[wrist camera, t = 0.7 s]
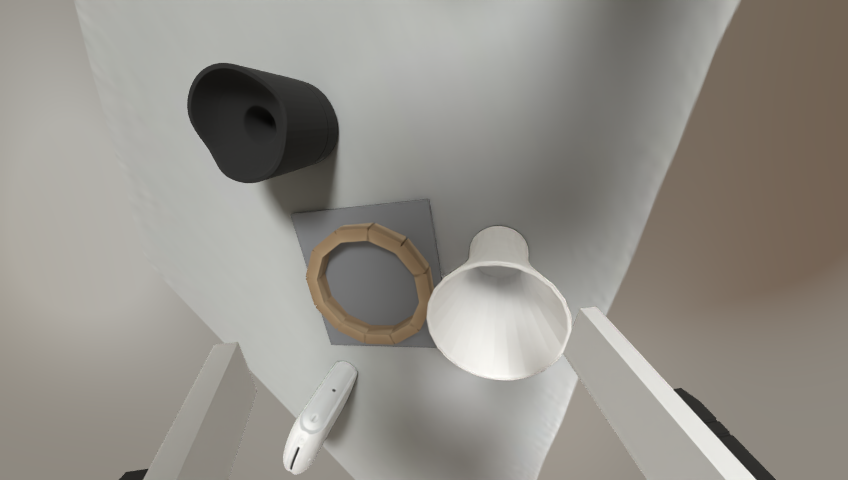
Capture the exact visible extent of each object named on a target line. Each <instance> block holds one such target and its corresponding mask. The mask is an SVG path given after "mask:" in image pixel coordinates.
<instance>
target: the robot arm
mask: <svg viewBox="0 0 848 480" xmlns="http://www.w3.org/2000/svg"><path fill="white" fill-rule="evenodd" d="M563 354H564V356H565V357H566V359H567V360H568V362H569V363H570V365H571V366H572V368H573V369H574V371H575V372H576V374H577V375H578V377H579V378H580V380H581V381H582V383H583V384H584V386H585V387H586V389H587V390H588V392H589V393H590V395H591V396H592V398H593V399H594V401H595V402H596V404H597V405H598V407H599V408H600V410H601V411H602V413H603V414H604V416H605V418H606V419H607V421H608V422H609V423H610V425H611V427H612V428H613V430H614V431H615V433H616V434H617V435H618V437H619V439H620V440H621V442H622V443H623V445H624V446H625V448H626V449H627V451H628V452H629V454H630V455H631V457H632V458H633V459H634V461H635V462H636V464H637V466H638V467H639V469H640V470H641V472H642V473H643V475H644V476H645V477H646V479H647V480H776V479H775V478H774V477H773V476H772V475H771V474H770V473H769V472H768V471H767V470H766V469H765V468H764V467H763V466H762V465H761V464H760V463H759V462H758V461H757V460H756V459H755V458H754V457H753V456H752V455H751V454H750V453H749V452H748V450H747V449H745V447H744V446H743V445H742V444H741V443H740V442H739V441H738V440H737V439H736V438H735V437H734V436H732V435H730V434H729V431H728V430H727V429H726V428H725V427H724V426H723V425H722V424H721V423H720V422H719V421H717V420H716V417H715V416H713V414H712V413H711V412H710V411H709V410H708V409H707V408H706V407H705V406H704V405H703V404H702V403H701V402H700V401H699V400H697V399H696V398H694V397H693V396H691V395H690V394H688V393H687V392H686V391H684V390H683V389H682V388H679V389H672V388H671V387H670V386H669V385H668V383H666V381H665V380H664V379H663V378H662V377H661V376H660V375H659V374H658V373H657V372H656V371H655V369H654V368H653V367H652V366H651V365H650V364H649V363H648V362H647V361H646V360H645V359H644V358H643V357H642V356H641V355H640V353H639V352H638V351H637V350H636V349H635V348H634V347H633V346H632V344H630V342H629V341H628V340H627V339H626V338H625V337H624V336H623V335H622V334H621V333H620V331H619V330H618V329H617V328H616V327H615V326H614V325H613V324H612V323H611V322H610V321H609V320H608V318H607V317H606V316H605V315H604V314H603V313H602V312H601V311H600V310H599V309H598V308H597V307H588V308H580V309H579V312H578V315H577V317H576V320H575V323H574V325H573V328H572V331H571V333H570V336H569V339H568V341H567V344H566V347H565V349H564V352H563ZM256 393H257V389H256V386H255V384H254V381H253V379H252V376H251V374H250V371H249V368H248V366H247V363H246V361H245V358H244V356H243V353H242V351H241V348H240V346H239V343H238V342H235V343H225V344H215V345H214V346H213V348H212V350H211V352H210V354H209V356H208V358H207V359H206V361H205V363H204V365H203V367H202V369H201V371H200V373H199V375H198V376H197V378H196V380H195V382H194V384H193V386H192V388H191V390H190V392H189V394H188V395H187V397H186V399H185V401H184V403H183V405H182V407H181V409H180V411H179V413H178V415H177V416H176V418H175V420H174V422H173V424H172V426H171V428H170V430H169V431H168V433H167V435H166V437H165V439H164V441H163V443H162V445H161V447H160V449H159V451H158V453H157V454H156V456H155V458H154V460H153V462H152V464H151V466H150V468H149V469H145V470H137V471H131V472H126V473H125V474H124V475H123V476H122V477H121V478H120V479H119V480H228V479H229V476H230V473H231V470H232V467H233V464H234V461H235V458H236V455H237V452H238V449H239V446H240V443H241V439H242V436H243V433H244V430H245V427H246V424H247V421H248V418H249V415H250V412H251V409H252V406H253V403H254V399H255V396H256Z"/></svg>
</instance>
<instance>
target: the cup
mask: <svg viewBox="0 0 848 480" xmlns="http://www.w3.org/2000/svg"><path fill="white" fill-rule="evenodd" d="M528 257H529V252H528V246H527V243H526V241H525V239H524V238H523V237H522V236H521V235H520V234H519V233H518V232H517V231H515V230H513V229H511V228H508V227H504V226H492V227H489V228H486V229H484V230H482V231H481V232H479V233H478V234H477V235H476V236H475V237H474V238H473V240H472V242H471V244H470V250H469V259H468V260H467V262H466V263H464V264H463V265H462V266H460V267H459V268H457V269H456V270H455V271H453V272H451V273H450V274H448V275H447V276H445V277H444V278H443V279H442V281H441V282H440V283H439V284H438V285H437V286H436V287H435V289H434V290H433V293H432V295H431V297H430V299H429V302H428V307H427V317H426V318H427V323H428V328H429V333H430V335H431V337H432V338H433V340H434V342H435V344H436V346H437V347H438V349H439V350H440V351H441V352H442V353H443V354H444V356H445V357H446V358H447V359H448V360H450V361H451V362H452V363H454V364H455V365H457V366H458V367H459V368H461V369H463V370H465V371H467V372H469V373H472V374H474V375H476V376H480V377H484V378H488V379H492V380H516V379H522V378H528V377H530V376H533V375H535V374H538V373H540V372H543V371H544V370H546V369H547V368H548V367H550V366H551V365H553V364H554V363H555V362H557V360H558V359H559V358H560V356H561V355H562V354H563V352H564V349H565V347H566V344H567V341H568V339H569V336H570V333H571V331H572V317H571V313H570V311H569V308H568V305H567V303H566V300H565V298H564V297H563V296H562V294H561V293H560V292H559V291H558V289H557V288H556V287H555V285H554V284H553V283H551V282H550V281H549V280H547V279H546V278H545V277H544V276H542V275H541V274H540V273H539V272H538V271H536V270H535V269H534V268H533V267H532V266H531V265H530V264H529V261H528Z"/></svg>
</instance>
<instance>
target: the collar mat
mask: <svg viewBox="0 0 848 480" xmlns="http://www.w3.org/2000/svg"><path fill="white" fill-rule="evenodd" d="M291 218H292V222H293V225H294V228H295V231H296V234H297V237H298V241H299V244H300V247H301V250H302V253H303V257H304V260H305V263H306V266H307V269H308V265H309V261H310V257H311V252H312V250H313V248H315V247H316V246H317V245H318V244H319V243H321V242H322V241H323V240H324V239H325V238H327V237H328V236H329V235H330V234H331V233H333V232H334V231H335V230H337V229H338V228H340V227H341V226H343V225H353V224H364V223H374V224H375V223H377V224H379V225H381V226H384V227H386V228H388V229H390V230H392V231H395V232H397V233H399V234H401V235H404V236H406V239H405V240H407V239H408V238H409V240H410V241H411V242H412V243H413V245H414V246H415V247H416V248H417V250H418V251H419V252H420V253H421V255H422V256H423V257H424V258H425V259H426V261H427V262H428V263H429V266H430V268H431V274H432V280H433V286H434V289H435V287H436V286H437V285H438V284H439V283H440V282H441V281H442V277H441V271H440V265H439V258H438V252H437V246H436V239H435V233H434V227H433V220H432V214H431V207H430V201H429V199H423V200H414V201H405V202H395V203H386V204H376V205H367V206H357V207H348V208H339V209H329V210H320V211H310V212H301V213H293V214H291ZM325 274H326V278H327V281H328V285H329V288H330V291H331V295H332V296H333V298H334V299H335V300H336V301H337V302H338V303H339V304H340V305H341V307H342V308H343V309H344V310H345V311H346V312H347V313H348V314H349V315H351V316H353V317H355V318H357V319H359V320H361V321H363V322H366V323H368V324H370V325H396V324H398V323H400V322H402V321H403V320H405V319H407V318H409V317H410V316H412V315H414V313H415V311H416V309H417V306H418V304H419V299H418V293H417V288H416V283H415V277H414V275H413V274H412V273H411V272H410V271H409V269H408V268H407V267H406V266H405V264H404V263H403V262H402V261H401V260H400V258H399V257H398V256H397V255H396V254H395V253H394V252H391V251H389V250H387V249H385V248H383V247H380V246H378V245H376V244H374V243H372V242H369V241H356V242H342V243H340V244H339V245H337V246H336V247H335V248H334V249H332V250H331V251H330V255H329V259H328V263H327V267H326V271H325ZM321 314H322V313H321ZM322 317H323V320H324V323H325V326H326V330H327V333H328V336H329V339H330V342H331V345H360V346H393V347H427V348H438V347H437V346H436V344H435V342H434V340H433V338H432V337H431V335H430V333H429V328H428V323H427V318H426V319H425V321H424V323H423V325H422V327H421V330H419V332H417V333H415V334H414V335H412V336H410V337H408V338H406V339H404V340H402V341H401V342H399V343H397V344H395V343H394V345H393V344H366V342H364V343H362V342H360V341H358V340H356V339H354V338H352V337H350V336H348V335H346V334H344V333H342V332H340V331H338V328H337V329H335V328H334V327H333V326H332V325H331V323H330V322H329V321H328V320H327V319H326V318H325V317H324V316H323V315H322Z"/></svg>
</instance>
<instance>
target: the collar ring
mask: <svg viewBox="0 0 848 480" xmlns="http://www.w3.org/2000/svg"><path fill="white" fill-rule="evenodd" d="M405 239H406V236H404V235H401V234H399V233H397V232H395V231H392V230H390V229H388V228H386V227H384V226H381V225H379V224H377V223H375V224H374V223H364V224H353V225H343V226H341V227H340V228H338V229H337V230H335V231H334V232H333V233H331V234H330V235H329V236H328V237H327V238H325V239H324V240H323V241H322V242H321V243H319V244H318V245H317V246H316V247H315V248H313V250H312V252H311V257H310V261H309V265H308V270H307V274H306V277H307V278H306V280H307V283H308V286H309V289H310V292H311V295H312V299H313V302H314V305H317V306H316V308H317V309H318V310H319V311H320V312H321V313H322V315H323V316H324V317H325V318H326V319H327V320H328V321H329V322H330V323H331V325H332V326H333V327H334V328H335V329H337V328H338V331H340V332H342V333H344V334H346V335H348V336H350V337H352V338H354V339H356V340H358V341H360V342H362V343H364V342H366V344H393V345H394V343H395V344H397V343H399V342H401V341H402V340H404V339H406V338H408V337H410V336H412V335H414V334H415V333H417V332H419V330H421V327H422V325H423V323H424V321H425V319H426V317H427V307H428V302H429V299H430V297H431V295H432V293H433V290H434V286H433V280H432V274H431V268H430V266H429V263H428V262H427V261H426V259H425V258H424V257H423V256H422V255H421V253H420V252H419V251H418V250H417V248H416V247H415V246H414V245H413V243H412V242H411V241H410V240H409V238H408V239H407V240H405ZM356 241H369V242H372V243H374V244H376V245H378V246H380V247H383V248H385V249H387V250H389V251H391V252H394V253H395V254H396V255H397V256H398V257H399V258H400V260H401V261H402V262H403V263H404V264H405V266H406V267H407V268H408V269H409V271H410V272H411V273H412V274H413V275H414V277H415V283H416V288H417V293H418V299H419V304H418V306H417V309H416V311H415V313H414V315H412V316H410V317H409V318H407V319H405V320H403V321H402V322H400V323H398V324H396V325H370V324H368V323H366V322H363V321H361V320H359V319H357V318H355V317H353V316H351V315H349V314H348V313H347V312H346V311H345V310H344V309H343V308H342V307H341V305H340V304H339V303H338V302H337V301H336V300H335V299H334V298H333V296H332V295H331V291H330V288H329V285H328V281H327V278H326V274H325V271H326V267H327V263H328V259H329V255H330V251H331V250H332V249H334V248H335V247H336V246H337V245H339V244H340V243H342V242H356Z"/></svg>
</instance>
